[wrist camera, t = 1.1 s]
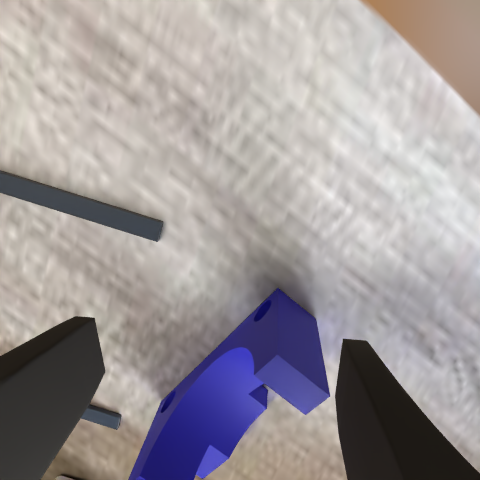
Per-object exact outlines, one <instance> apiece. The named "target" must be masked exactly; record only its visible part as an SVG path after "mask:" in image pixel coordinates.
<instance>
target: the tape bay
mask: <svg viewBox="0 0 480 480" xmlns="http://www.w3.org/2000/svg"><path fill="white" fill-rule="evenodd" d="M0 193H3V194H6V195H9V196H13V197H16V198H19V199H22V200H25V201H29V202H32V203H35V204H38V205H41V206H45V207H48V208H51V209H54V210H57V211H60V212H64V213H67V214H70V215H73V216H76V217H80V218H83V219H86V220H89V221H92V222H96V223H99V224H102V225H105V226H108V227H112V228H115V229H118V230H121V231H124V232H128V233H131V234H134V235H137V236H140V237H143V238H147V239H150V240H153V241H156V242H158V241H159V239H160V234H161V229H162V225H163V221H160V220H157V219H153V218H150V217H147V216H144V215H141V214H137V213H134V212H131V211H128V210H125V209H122V208H118V207H115V206H112V205H109V204H106V203H102V202H99V201H96V200H93V199H90V198H86V197H83V196H80V195H77V194H74V193H70V192H67V191H64V190H61V189H58V188H54V187H51V186H48V185H45V184H42V183H38V182H35V181H32V180H29V179H26V178H22V177H19V176H16V175H13V174H10V173H6V172H3V171H0ZM81 418H82V419H85V420H88V421H91V422H94V423H97V424H100V425H104V426H107V427H110V428H113V429H116V430H117V429H118V427H119V423H120V419H121V415H120V414H117V413H113V412H110V411H107V410H104V409H101V408H98V407H95V406H91V405H89V406H88V407H87V409H86V410H85V412H84V414H83V415H82V417H81Z"/></svg>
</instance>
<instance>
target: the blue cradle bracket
mask: <svg viewBox="0 0 480 480" xmlns="http://www.w3.org/2000/svg"><path fill="white" fill-rule="evenodd" d="M262 384H266V385H267V386H268V387H270V388H271V389H272V390H273V391H275V392H276V393H277V394H279V395H280V396H281V397H283V398H284V399H285V400H287V401H288V402H289V403H290V404H292V405H293V406H294V407H296V408H297V409H298V410H300V411H301V412H302V413H303V414H305V415H306V414H308V413H309V412H310V411H311V410H313V409H314V408H315V407H317V406H318V405H319V404H321V403H322V402H323V401H325V400H326V399H327V398H328V397H330V392H329V387H328V382H327V376H326V371H325V365H324V360H323V355H322V349H321V344H320V338H319V333H318V328H317V322H316V319H315V318H314V317H313V316H312V315H311V314H309V313H308V312H307V311H306V310H305V309H303V308H302V307H301V306H300V305H298V304H297V303H296V302H295V301H294V300H292V299H291V298H290V297H289V296H287V295H286V294H285V293H284V292H283V291H281V290H280V289H279V288H277V289H276V290H275V291H274V292H273V293H272V294H271V295H270V296H269V297H268V298H267V299H266V300H265V301H264V302H263V303H262V304H261V305H260V306H259V307H258V308H257V309H256V310H255V311H254V312H253V313H252V314H250V315H249V316H248V317H247V318H246V319H245V320H244V321H243V322H242V323H241V324H240V325H239V326H238V327H237V328H236V329H235V330H234V331H233V332H232V333H231V334H230V335H229V336H228V337H227V338H226V339H225V340H224V341H223V342H222V343H221V344H220V345H219V346H218V347H217V348H216V349H215V350H213V351H212V352H211V353H210V354H209V355H208V356H207V357H206V358H205V359H204V360H203V361H202V362H201V363H200V364H199V365H198V366H197V367H196V368H195V369H194V370H193V371H192V372H191V373H190V374H189V375H188V376H187V377H186V378H185V379H184V380H183V381H182V382H181V383H180V384H179V385H178V386H176V387H175V388H174V389H173V390H172V391H171V392H170V393H169V394H168V395H167V396H166V397H165V398H164V399H163V400H162V401H161V403H160V406H159V408H158V411H157V413H156V415H155V418H154V420H153V422H152V425H151V427H150V430H149V432H148V434H147V437H146V439H145V441H144V444H143V446H142V448H141V451H140V453H139V456H138V458H137V460H136V463H135V465H134V467H133V470H132V472H131V474H130V477H129V479H128V480H194V478H195V475H198V476H199V477H201V478H202V479H203V478H205V477H206V476H207V475H208V474H210V473H211V472H212V471H213V470H215V469H216V468H217V467H219V466H220V465H221V464H222V463H224V462H225V461H226V460H227V459H229V457H230V455H231V454H232V452H233V450H234V448H235V447H236V445H237V443H238V442H239V440H240V439H241V437H242V436H243V434H244V433H245V431H246V430H247V429H248V427H249V426H250V425H251V424H252V423H253V421H254V420H255V419H256V418H257V417H258V416H259V415H260V414H261V413H262V412H263V411H264V410H265V409H267V394H268V390H267V389H266V388H264V387H263V386H262Z"/></svg>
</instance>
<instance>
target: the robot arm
mask: <svg viewBox="0 0 480 480" xmlns="http://www.w3.org/2000/svg"><path fill="white" fill-rule="evenodd" d="M104 373H105V367H104V362H103V357H102V352H101V347H100V342H99V337H98V333H97V328H96V323H95V318H90V317H78V316H75V317H73V318H71V319H69V320H67V321H65V322H63V323H61V324H59V325H57V326H55V327H53V328H51V329H49V330H48V331H46V332H44V333H42V334H40V335H38V336H37V337H35V338H33V339H31V340H29V341H27V342H26V343H24V344H22V345H20V346H18V347H16V348H15V349H13V350H11V351H9V352H7V353H5V354H4V355H2V356H0V480H40V479H41V478H42V476H43V475H44V473H45V472H46V470H47V469H48V467H49V466H50V464H51V463H52V461H53V460H54V458H55V457H56V455H57V453H58V452H59V450H60V449H61V447H62V446H63V444H64V443H65V441H66V440H67V438H68V437H69V435H70V434H71V432H72V431H73V429H74V428H75V426H76V424H77V423H78V421H79V420H80V418H81V417H82V415H83V414H84V412H85V410H86V409H87V407H88V406H89V404H90V402H91V400H92V398H93V396H94V394H95V392H96V390H97V388H98V386H99V384H100V382H101V380H102V377H103V375H104ZM335 399H336V411H337V422H338V432H339V438H340V444H341V449H342V454H343V459H344V464H345V469H346V474H347V479H348V480H480V473H479V472H478V471H477V470H476V469H475V468H474V467H473V466H472V465H471V464H470V463H469V462H468V461H467V460H466V459H465V458H464V457H463V456H462V455H461V454H460V453H459V452H458V451H457V450H456V449H455V448H454V447H453V445H452V444H451V443H450V442H449V441H448V440H447V439H446V438H445V437H444V436H443V434H442V433H441V432H440V431H439V430H438V429H437V428H436V427H435V426H434V424H433V423H432V422H431V421H430V420H429V419H428V418H427V416H426V415H425V414H424V413H423V412H422V411H421V409H420V408H419V407H418V406H417V405H416V403H415V402H414V401H413V400H412V398H411V397H410V396H409V395H408V394H407V392H406V391H405V390H404V389H403V388H402V386H401V385H400V384H399V382H398V381H397V380H396V379H395V377H394V376H393V375H392V373H391V372H390V371H389V370H388V368H387V367H386V366H385V364H384V363H383V362H382V360H381V359H380V358H379V356H378V355H377V354H376V352H375V351H374V349H373V348H372V347H371V345H370V344H369V343H368V342H367V341H363V340H351V339H343V343H342V350H341V357H340V364H339V372H338V379H337V386H336V393H335ZM55 480H74V479H71V478H68V477H64V476H57V477H56V479H55Z"/></svg>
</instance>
